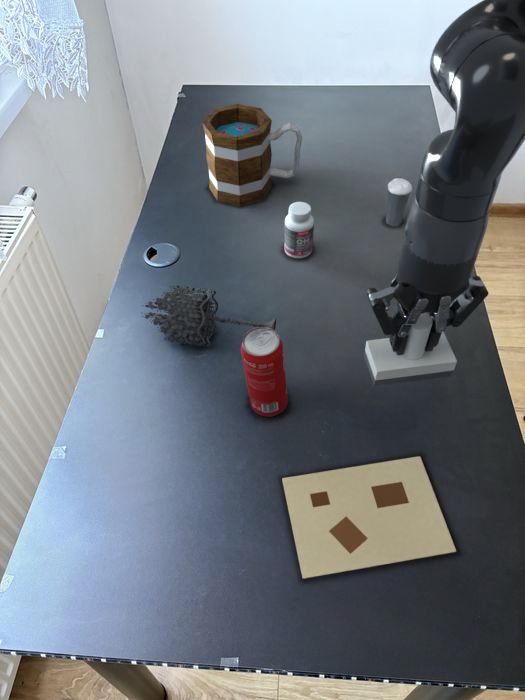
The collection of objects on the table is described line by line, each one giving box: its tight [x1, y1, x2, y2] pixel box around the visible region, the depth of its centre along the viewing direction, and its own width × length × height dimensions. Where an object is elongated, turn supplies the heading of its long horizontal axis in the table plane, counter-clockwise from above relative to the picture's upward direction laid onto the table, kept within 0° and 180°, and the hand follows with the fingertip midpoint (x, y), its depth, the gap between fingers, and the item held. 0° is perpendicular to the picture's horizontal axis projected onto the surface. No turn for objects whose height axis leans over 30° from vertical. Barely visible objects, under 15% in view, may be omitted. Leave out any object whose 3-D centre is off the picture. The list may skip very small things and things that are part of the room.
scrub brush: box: [363, 312, 458, 387], centre depth 72 cm, size 10×5×8 cm, turn 98°
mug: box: [201, 103, 303, 207], centre depth 122 cm, size 20×14×15 cm
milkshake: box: [384, 177, 413, 227], centre depth 115 cm, size 4×5×10 cm
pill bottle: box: [283, 201, 315, 259], centre depth 110 cm, size 5×5×10 cm
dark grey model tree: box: [140, 284, 277, 347], centre depth 97 cm, size 9×22×9 cm, turn 79°
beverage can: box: [240, 326, 289, 417], centre depth 86 cm, size 6×6×15 cm
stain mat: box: [281, 455, 457, 580], centre depth 80 cm, size 20×14×1 cm
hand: (412, 347), depth 73 cm, fingers closed on scrub brush, 3 cm apart
